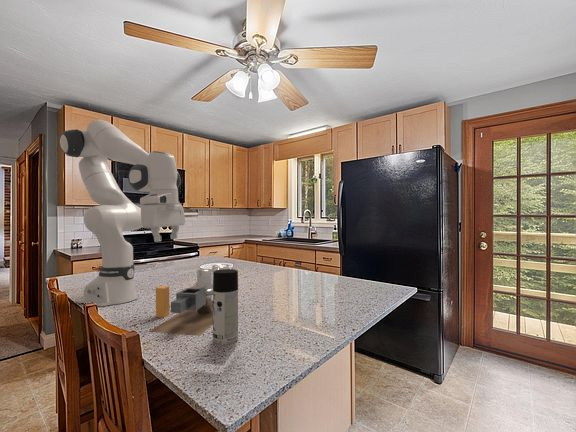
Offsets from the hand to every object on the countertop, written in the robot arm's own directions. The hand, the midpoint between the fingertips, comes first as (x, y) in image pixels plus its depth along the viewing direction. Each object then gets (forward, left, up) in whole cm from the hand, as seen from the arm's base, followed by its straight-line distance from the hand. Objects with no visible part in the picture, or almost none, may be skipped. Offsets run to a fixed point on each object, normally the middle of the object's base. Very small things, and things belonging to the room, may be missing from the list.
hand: (166, 240), depth 101 cm
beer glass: (+12, +18, -27) cm, 34 cm away
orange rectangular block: (0, -2, -27) cm, 27 cm away
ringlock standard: (+12, -2, -25) cm, 28 cm away
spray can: (+28, -16, -27) cm, 41 cm away
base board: (+12, -2, -27) cm, 29 cm away
